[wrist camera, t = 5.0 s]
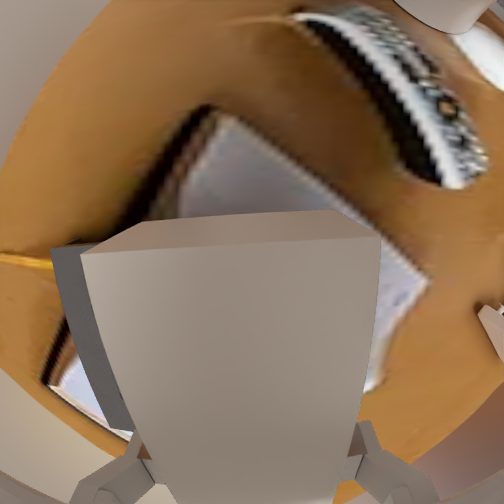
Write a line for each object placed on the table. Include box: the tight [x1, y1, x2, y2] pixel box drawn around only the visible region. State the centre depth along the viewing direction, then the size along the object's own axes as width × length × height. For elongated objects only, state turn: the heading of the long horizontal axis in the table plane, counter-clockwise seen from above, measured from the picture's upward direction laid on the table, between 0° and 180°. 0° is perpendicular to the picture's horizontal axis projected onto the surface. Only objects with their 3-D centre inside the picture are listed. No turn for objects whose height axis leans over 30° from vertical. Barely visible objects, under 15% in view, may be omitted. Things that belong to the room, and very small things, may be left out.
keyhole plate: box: [50, 238, 136, 432], centre depth 27 cm, size 22×12×4 cm, turn 4°
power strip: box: [80, 210, 381, 504], centre depth 10 cm, size 16×6×8 cm, turn 4°
